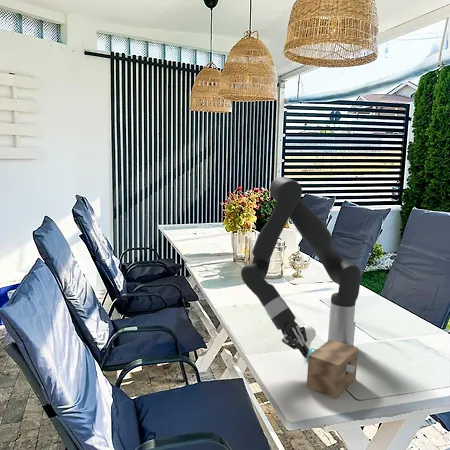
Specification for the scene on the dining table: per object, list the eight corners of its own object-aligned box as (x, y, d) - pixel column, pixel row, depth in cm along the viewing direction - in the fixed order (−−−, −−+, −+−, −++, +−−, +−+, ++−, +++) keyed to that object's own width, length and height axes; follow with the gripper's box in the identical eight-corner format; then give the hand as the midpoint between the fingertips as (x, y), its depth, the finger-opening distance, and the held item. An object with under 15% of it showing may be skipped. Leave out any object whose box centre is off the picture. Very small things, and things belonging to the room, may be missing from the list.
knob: (306, 365, 147) (307, 350, 146) (313, 360, 151) (314, 345, 150) (349, 380, 138) (351, 365, 137) (355, 374, 142) (357, 359, 141)
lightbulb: (312, 349, 169) (313, 322, 167) (315, 357, 163) (318, 328, 161) (295, 349, 169) (297, 321, 167) (298, 357, 163) (300, 328, 161)
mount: (301, 385, 143) (303, 353, 141) (322, 367, 155) (325, 338, 153) (336, 398, 136) (338, 365, 134) (355, 379, 148) (358, 347, 146)
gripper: (276, 312, 147) (307, 358, 142) (296, 302, 157) (325, 345, 152) (262, 323, 151) (291, 368, 146) (282, 313, 161) (309, 355, 156)
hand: (308, 356), depth 149 cm, fingers closed
